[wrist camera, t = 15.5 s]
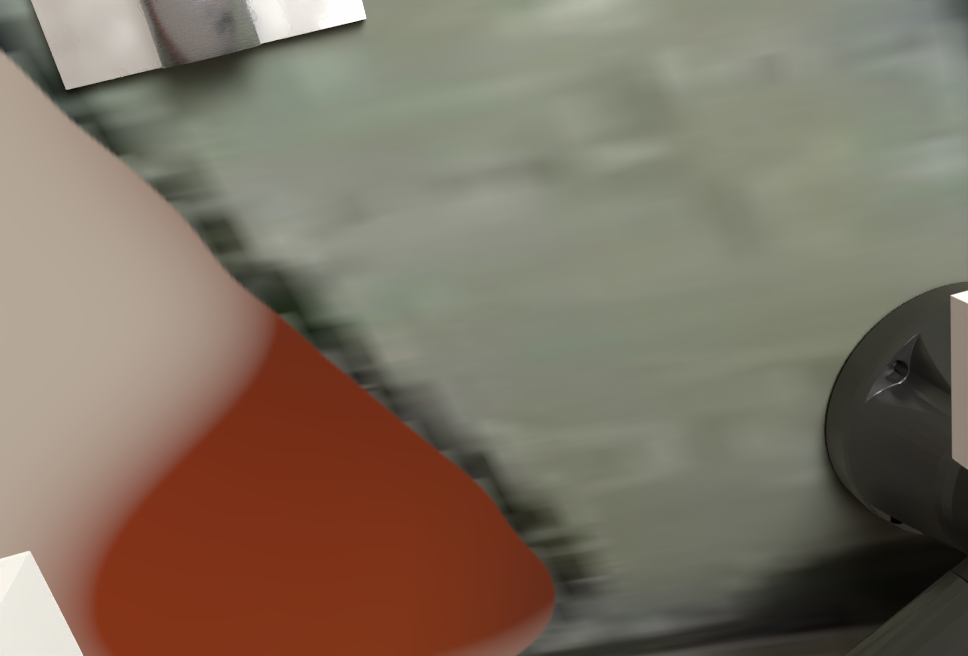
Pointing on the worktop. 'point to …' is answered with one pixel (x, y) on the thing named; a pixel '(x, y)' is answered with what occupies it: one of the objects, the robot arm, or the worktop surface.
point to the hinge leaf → (172, 31)
